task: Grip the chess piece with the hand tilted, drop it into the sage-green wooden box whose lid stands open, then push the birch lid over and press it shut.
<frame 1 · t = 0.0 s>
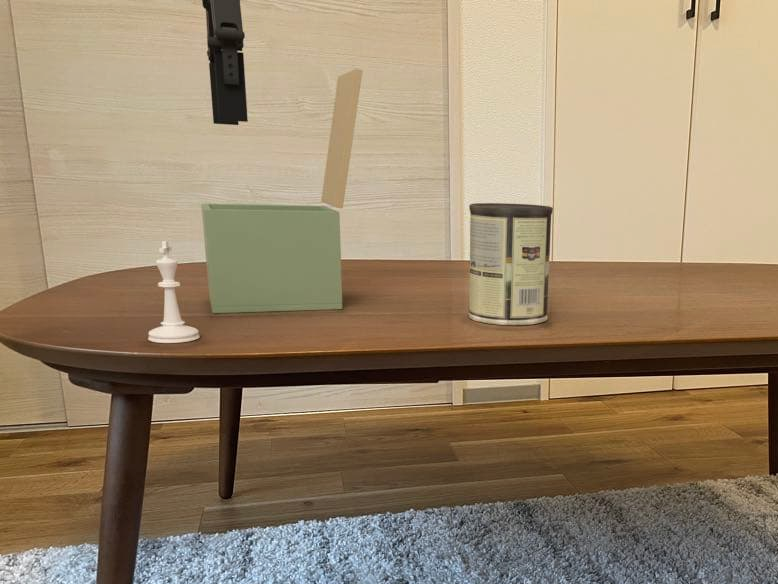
hand: (229, 123, 85), 22 cm above the table, tool pointing down, fingers open, 13 cm apart
coffee can: (507, 319, 100), on the table
chess piece: (174, 340, 81), on the table
chest: (274, 303, 103), on the table
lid: (340, 140, 100), point 21 cm above the table, hinge at 100.0°
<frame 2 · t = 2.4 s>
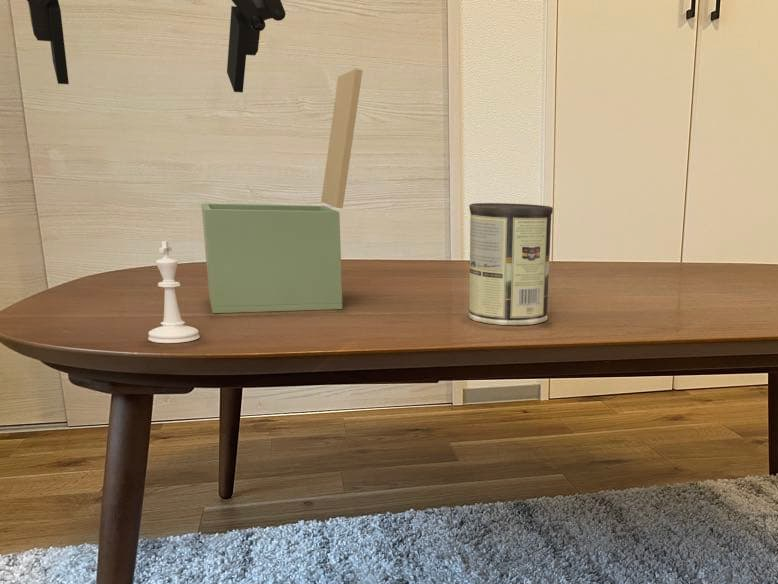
hand: (152, 78, 67), 25 cm above the table, tool tilted 40°, fingers open, 13 cm apart
nothing on the table moved.
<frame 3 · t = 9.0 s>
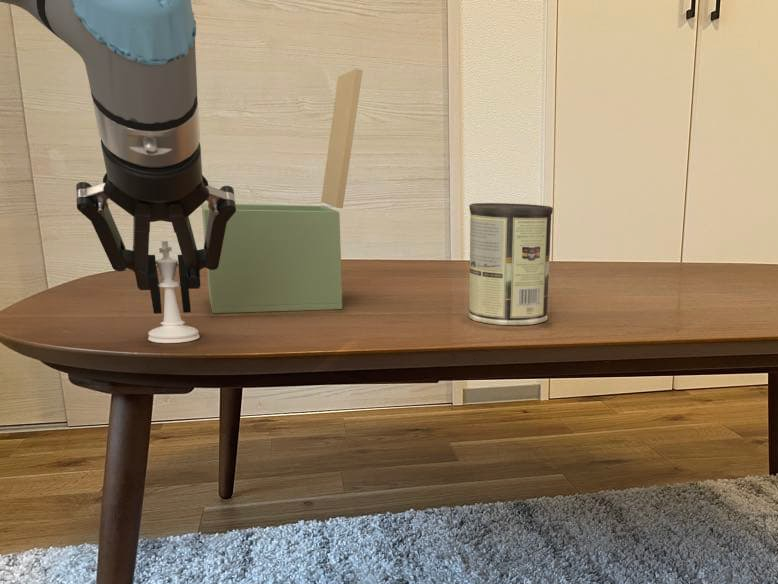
hand: (171, 302, 84), 3 cm above the table, tool tilted 45°, fingers closed on chess piece, 2 cm apart
chess piece: (174, 340, 81), on the table, touching gripper
everything else where it was.
when the fingers open (13 cm above the table, at t = 19.1 s): chess piece drops 9 cm, resting on chest.
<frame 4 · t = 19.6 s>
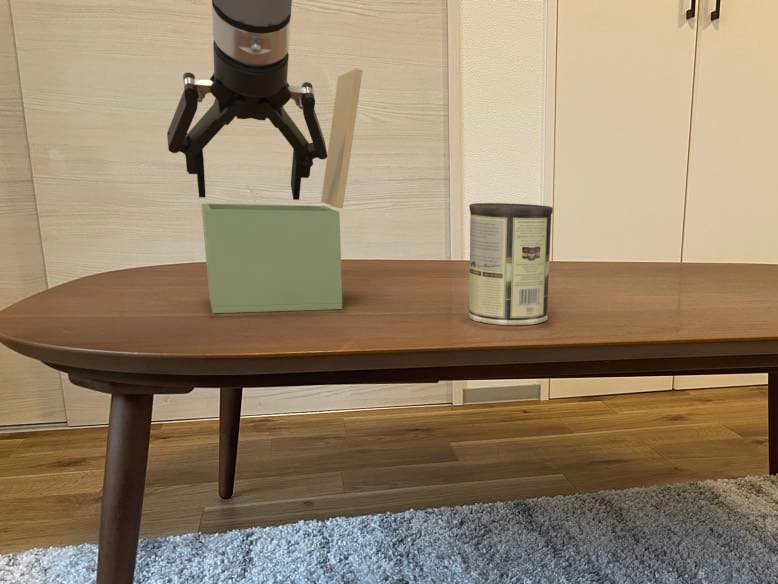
hand: (249, 190, 100), 14 cm above the table, tool tilted 45°, fingers open, 11 cm apart
chess piece: (258, 295, 101), point 1 cm above the table, touching chest
everything else where it was.
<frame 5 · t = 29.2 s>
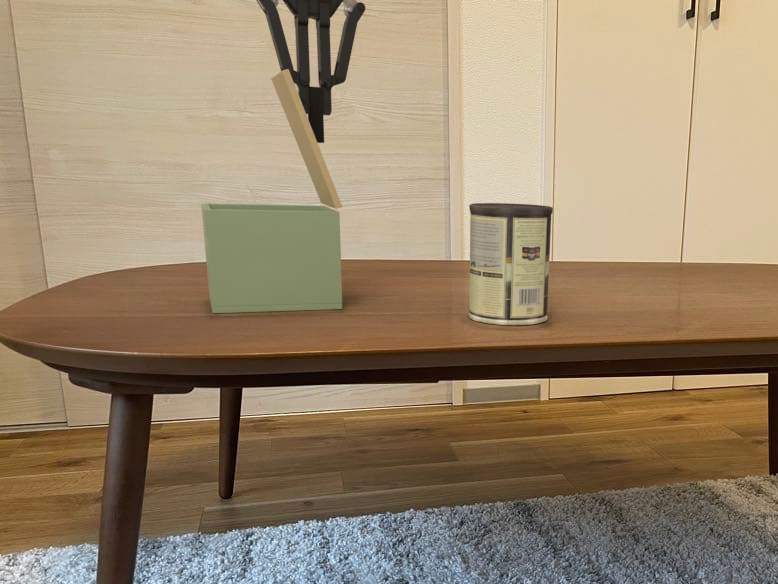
hand: (316, 142, 99), 21 cm above the table, tool pointing down, fingers closed
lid: (306, 141, 98), point 21 cm above the table, hinge at 69.7°, touching gripper
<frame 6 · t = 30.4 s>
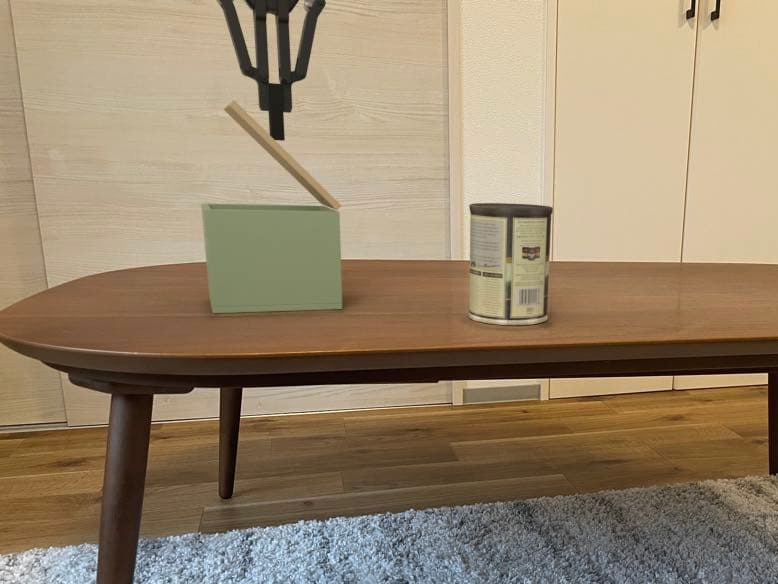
hand: (277, 140, 97), 21 cm above the table, tool pointing down, fingers closed
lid: (281, 157, 98), point 19 cm above the table, hinge at 44.2°, touching gripper
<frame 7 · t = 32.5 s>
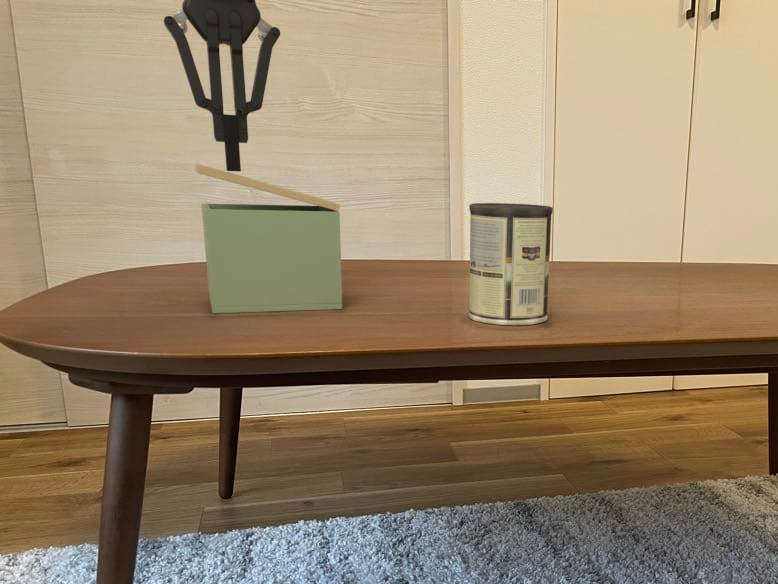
hand: (233, 170, 96), 17 cm above the table, tool pointing down, fingers closed
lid: (266, 187, 98), point 15 cm above the table, hinge at 14.2°, touching gripper
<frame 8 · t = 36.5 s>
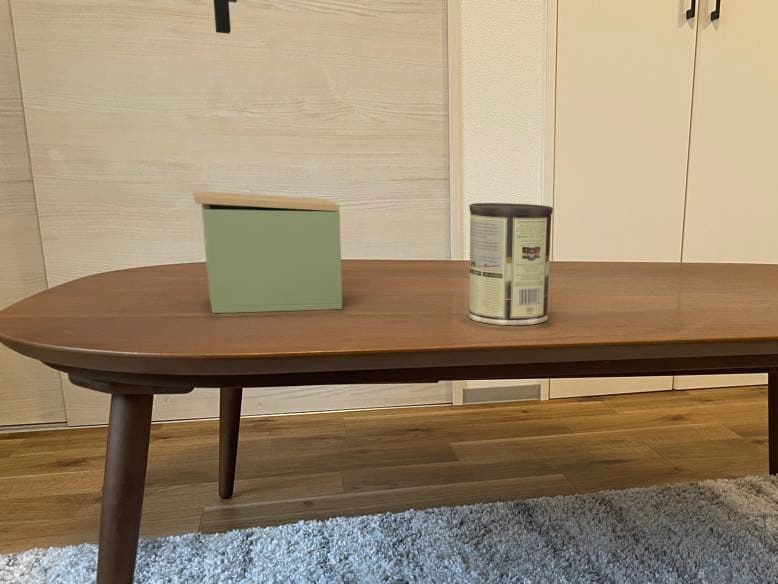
hand: (223, 31, 91), 32 cm above the table, tool pointing down, fingers closed
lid: (265, 201, 98), point 13 cm above the table, hinge at 2.1°
at the end: chess piece inside the target area in the chest (2.0 cm from its centre), point 0.6 cm above the chest's base; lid at +2° (first picture: +100°) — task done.
